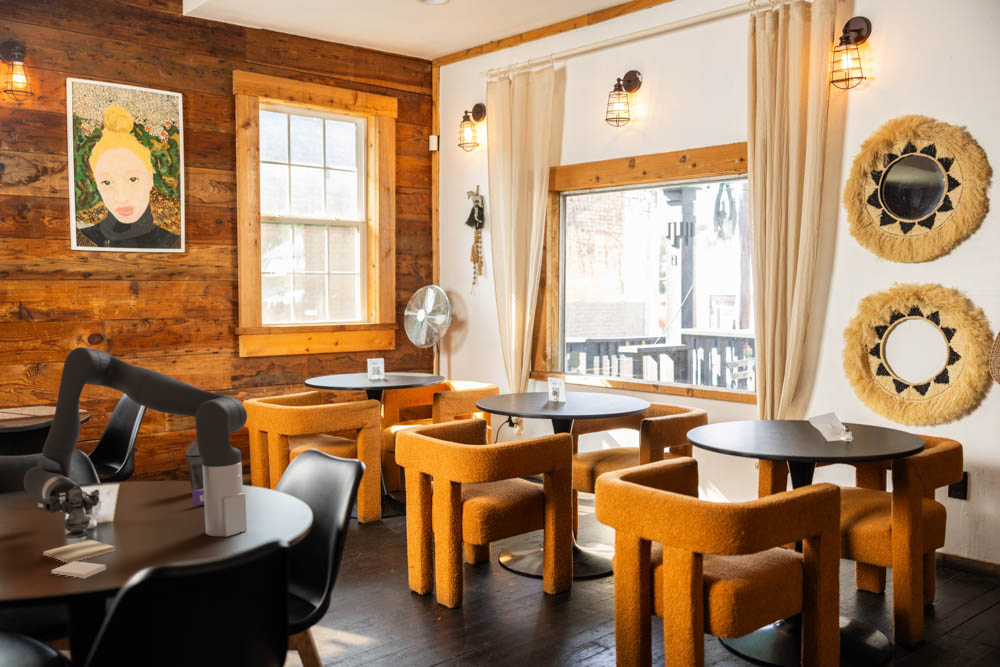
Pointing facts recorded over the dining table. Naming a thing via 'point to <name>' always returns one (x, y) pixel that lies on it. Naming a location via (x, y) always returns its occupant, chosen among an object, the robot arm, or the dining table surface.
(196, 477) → the beverage cup
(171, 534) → the dining table surface
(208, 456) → the robot arm
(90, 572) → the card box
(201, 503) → the snack package
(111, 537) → the dining table surface
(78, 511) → the salt shaker
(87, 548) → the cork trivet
